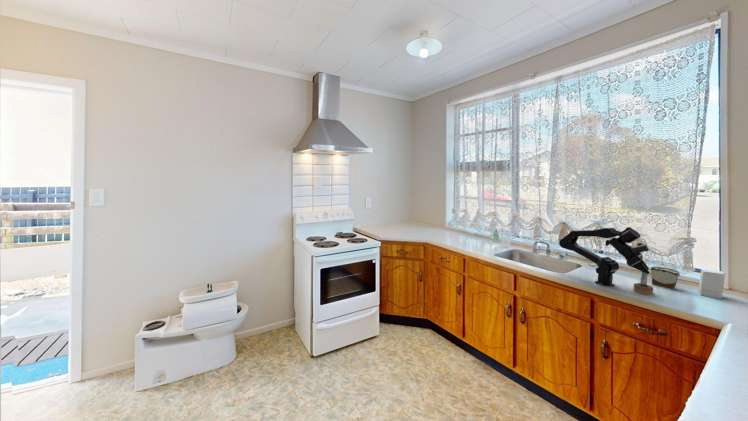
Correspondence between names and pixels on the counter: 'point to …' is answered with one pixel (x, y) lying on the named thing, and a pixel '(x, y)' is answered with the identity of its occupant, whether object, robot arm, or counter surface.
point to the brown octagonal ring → (643, 289)
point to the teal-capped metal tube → (643, 279)
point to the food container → (664, 277)
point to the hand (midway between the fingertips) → (648, 271)
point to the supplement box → (711, 283)
